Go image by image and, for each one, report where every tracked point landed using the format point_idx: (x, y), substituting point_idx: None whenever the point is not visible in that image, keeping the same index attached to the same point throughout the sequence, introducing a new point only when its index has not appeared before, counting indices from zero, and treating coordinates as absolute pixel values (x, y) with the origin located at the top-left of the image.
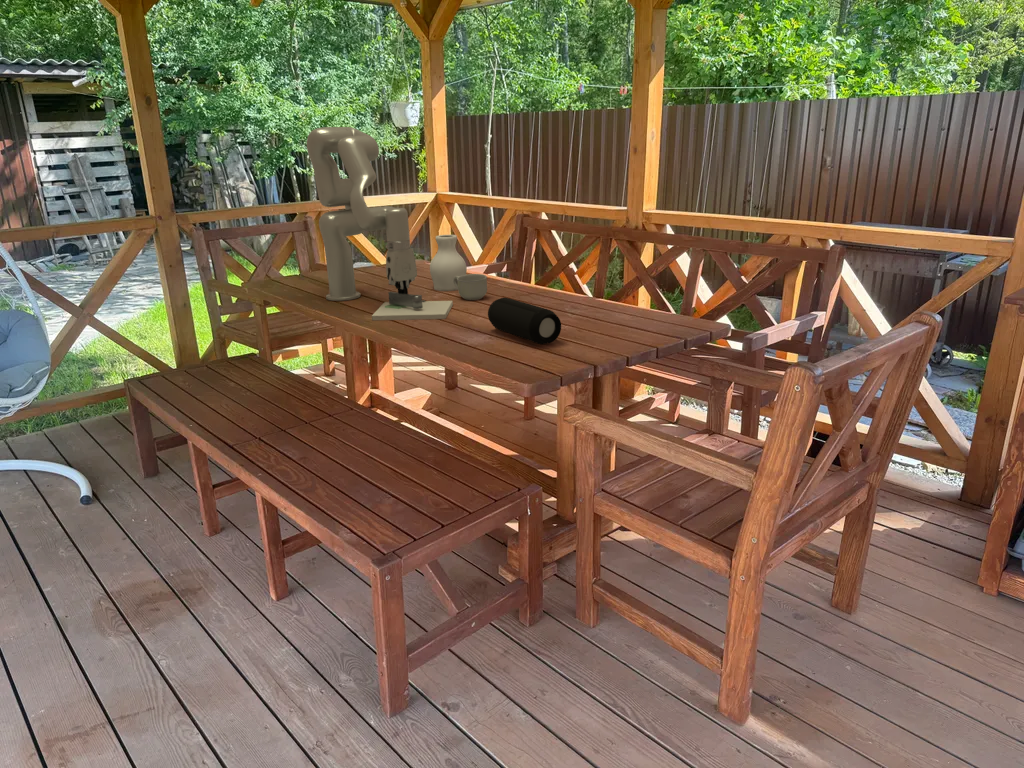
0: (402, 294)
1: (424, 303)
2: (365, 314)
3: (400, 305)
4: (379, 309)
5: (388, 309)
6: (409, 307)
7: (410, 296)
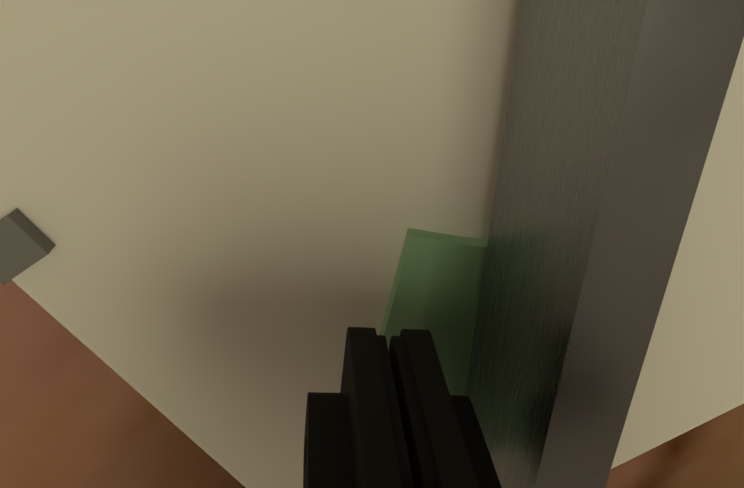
0: (647, 331)
1: (95, 138)
2: (724, 461)
3: (472, 318)
4: (700, 406)
5: (672, 323)
6: (461, 155)
7: (715, 55)
